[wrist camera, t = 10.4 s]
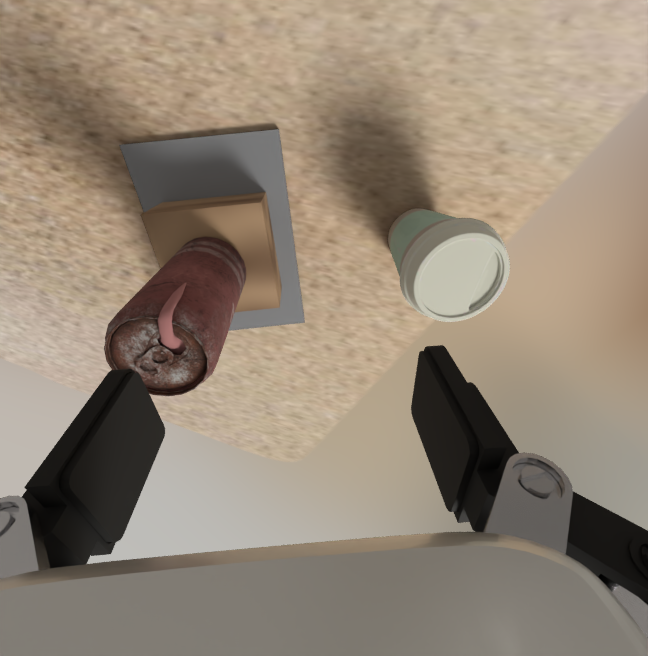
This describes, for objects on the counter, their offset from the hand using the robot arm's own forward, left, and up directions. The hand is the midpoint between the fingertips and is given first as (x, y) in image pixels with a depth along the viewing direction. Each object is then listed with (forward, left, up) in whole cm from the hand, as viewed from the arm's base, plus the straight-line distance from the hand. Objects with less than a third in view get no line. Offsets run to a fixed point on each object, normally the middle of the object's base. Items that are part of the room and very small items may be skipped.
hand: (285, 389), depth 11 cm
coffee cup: (+4, +13, -26) cm, 29 cm away
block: (+3, -7, -25) cm, 27 cm away
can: (+3, -8, -21) cm, 22 cm away
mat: (+3, -7, -26) cm, 27 cm away
